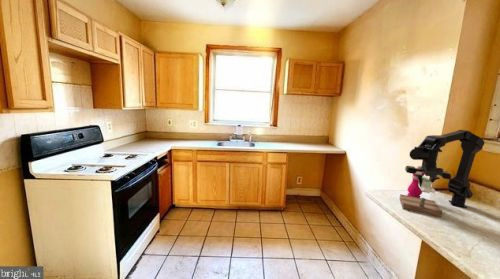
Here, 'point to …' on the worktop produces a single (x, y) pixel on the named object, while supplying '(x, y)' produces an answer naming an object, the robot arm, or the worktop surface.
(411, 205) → the brown open rectangular box
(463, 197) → the robot arm
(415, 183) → the pepper mill
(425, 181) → the light grey piece
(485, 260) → the worktop surface
